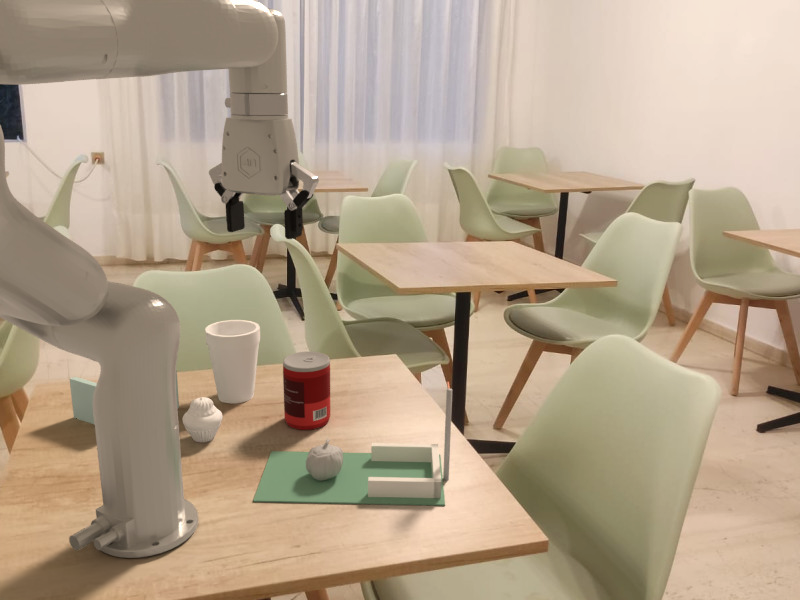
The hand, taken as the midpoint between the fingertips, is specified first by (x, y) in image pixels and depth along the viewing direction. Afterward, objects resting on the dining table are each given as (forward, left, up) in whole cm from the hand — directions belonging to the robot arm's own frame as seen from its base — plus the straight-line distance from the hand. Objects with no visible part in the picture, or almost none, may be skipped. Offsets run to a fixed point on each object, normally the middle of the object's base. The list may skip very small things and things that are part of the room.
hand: (264, 233), depth 103 cm
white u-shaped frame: (+5, -21, -34) cm, 41 cm away
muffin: (-2, +13, -35) cm, 37 cm away
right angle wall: (-2, +30, -35) cm, 46 cm away
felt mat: (+1, -14, -34) cm, 37 cm away
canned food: (+12, +3, -35) cm, 37 cm away
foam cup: (+13, +20, -35) cm, 42 cm away
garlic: (-1, -11, -34) cm, 36 cm away
